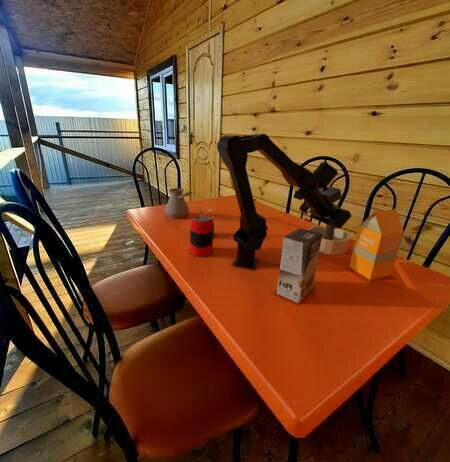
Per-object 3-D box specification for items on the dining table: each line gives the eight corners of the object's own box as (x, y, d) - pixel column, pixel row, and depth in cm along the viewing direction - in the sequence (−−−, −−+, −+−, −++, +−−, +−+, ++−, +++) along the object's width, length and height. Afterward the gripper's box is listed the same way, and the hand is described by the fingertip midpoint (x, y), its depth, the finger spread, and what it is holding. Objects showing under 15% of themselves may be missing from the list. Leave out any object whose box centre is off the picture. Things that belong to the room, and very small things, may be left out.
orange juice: (348, 268, 79) (362, 207, 73) (369, 264, 82) (384, 205, 76) (369, 282, 72) (386, 215, 66) (391, 277, 75) (410, 213, 69)
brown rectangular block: (335, 249, 90) (341, 207, 85) (320, 247, 92) (325, 206, 86) (335, 243, 95) (340, 203, 89) (320, 241, 96) (325, 202, 91)
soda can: (199, 245, 92) (199, 213, 88) (216, 250, 88) (217, 217, 84) (185, 252, 86) (185, 219, 82) (204, 259, 82) (204, 224, 78)
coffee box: (299, 304, 62) (308, 244, 57) (276, 293, 66) (282, 236, 60) (313, 288, 69) (323, 233, 63) (291, 279, 72) (298, 226, 67)
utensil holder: (210, 239, 97) (211, 209, 93) (195, 236, 99) (195, 207, 95) (216, 234, 102) (216, 205, 98) (201, 231, 104) (202, 203, 100)
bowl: (349, 260, 85) (352, 243, 83) (305, 252, 89) (307, 237, 87) (344, 243, 98) (347, 229, 96) (306, 237, 102) (308, 223, 100)
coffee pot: (161, 214, 124) (159, 183, 119) (183, 211, 130) (182, 182, 125) (179, 228, 107) (179, 193, 102) (203, 223, 113) (204, 190, 108)
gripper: (353, 185, 75) (371, 217, 83) (310, 175, 92) (328, 202, 99) (328, 213, 75) (348, 242, 83) (290, 198, 91) (310, 223, 99)
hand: (333, 225), depth 91 cm, fingers closed on brown rectangular block, 3 cm apart
